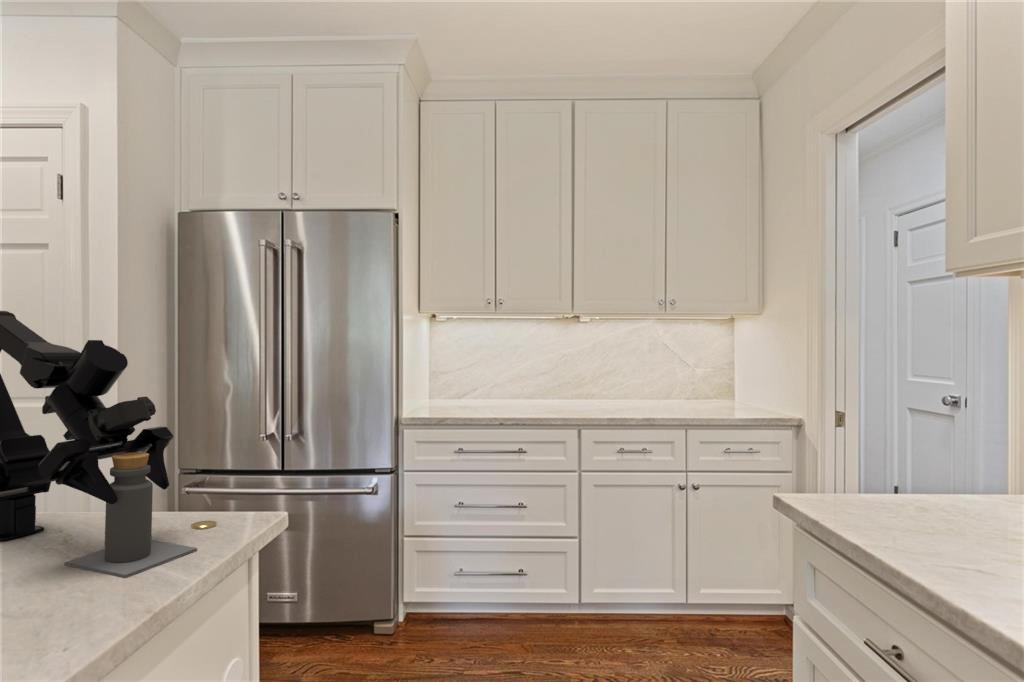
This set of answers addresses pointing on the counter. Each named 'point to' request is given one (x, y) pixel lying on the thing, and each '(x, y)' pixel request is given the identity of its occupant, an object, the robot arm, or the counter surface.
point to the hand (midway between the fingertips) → (142, 494)
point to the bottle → (129, 509)
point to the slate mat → (158, 556)
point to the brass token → (203, 524)
